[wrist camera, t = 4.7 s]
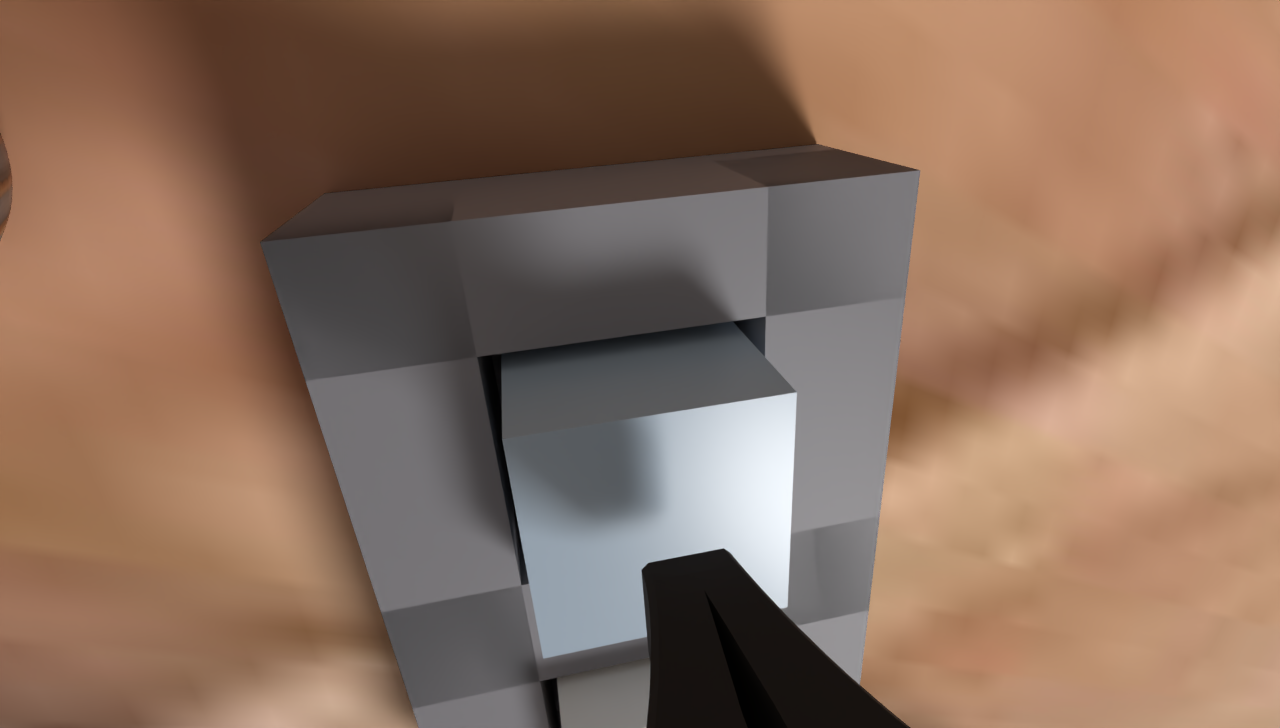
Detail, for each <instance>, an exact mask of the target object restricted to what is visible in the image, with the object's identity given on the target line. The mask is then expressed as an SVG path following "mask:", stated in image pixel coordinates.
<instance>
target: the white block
mask: <svg viewBox="0 0 1280 728" xmlns="http://www.w3.org/2000/svg"><path fill="white" fill-rule="evenodd" d="M557 686H558V697H559V707H560V718H561V728H646V726H647V715H648V704H649V691H650V658H645V659H640V660H636V661H631V662H627V663H622V664H617V665H613V666H608V667H603V668H599V669H594V670H589V671H585V672H580V673H576V674H571V675H566V676H562V677H557Z"/></svg>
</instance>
